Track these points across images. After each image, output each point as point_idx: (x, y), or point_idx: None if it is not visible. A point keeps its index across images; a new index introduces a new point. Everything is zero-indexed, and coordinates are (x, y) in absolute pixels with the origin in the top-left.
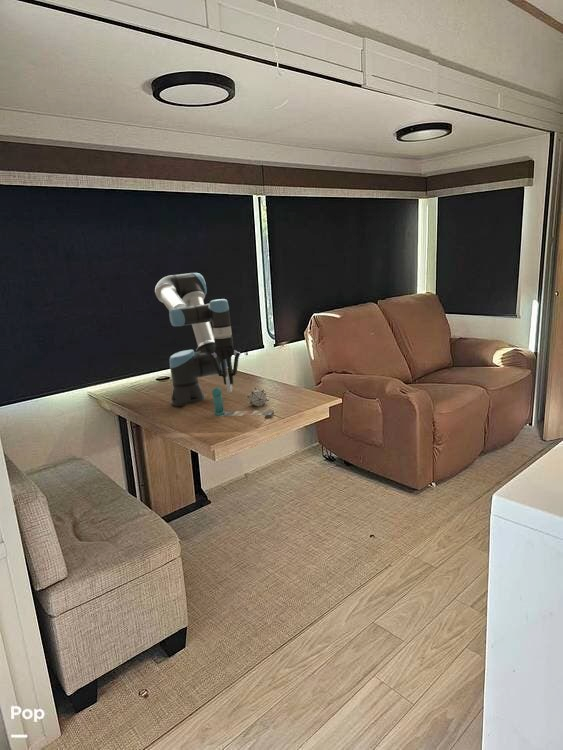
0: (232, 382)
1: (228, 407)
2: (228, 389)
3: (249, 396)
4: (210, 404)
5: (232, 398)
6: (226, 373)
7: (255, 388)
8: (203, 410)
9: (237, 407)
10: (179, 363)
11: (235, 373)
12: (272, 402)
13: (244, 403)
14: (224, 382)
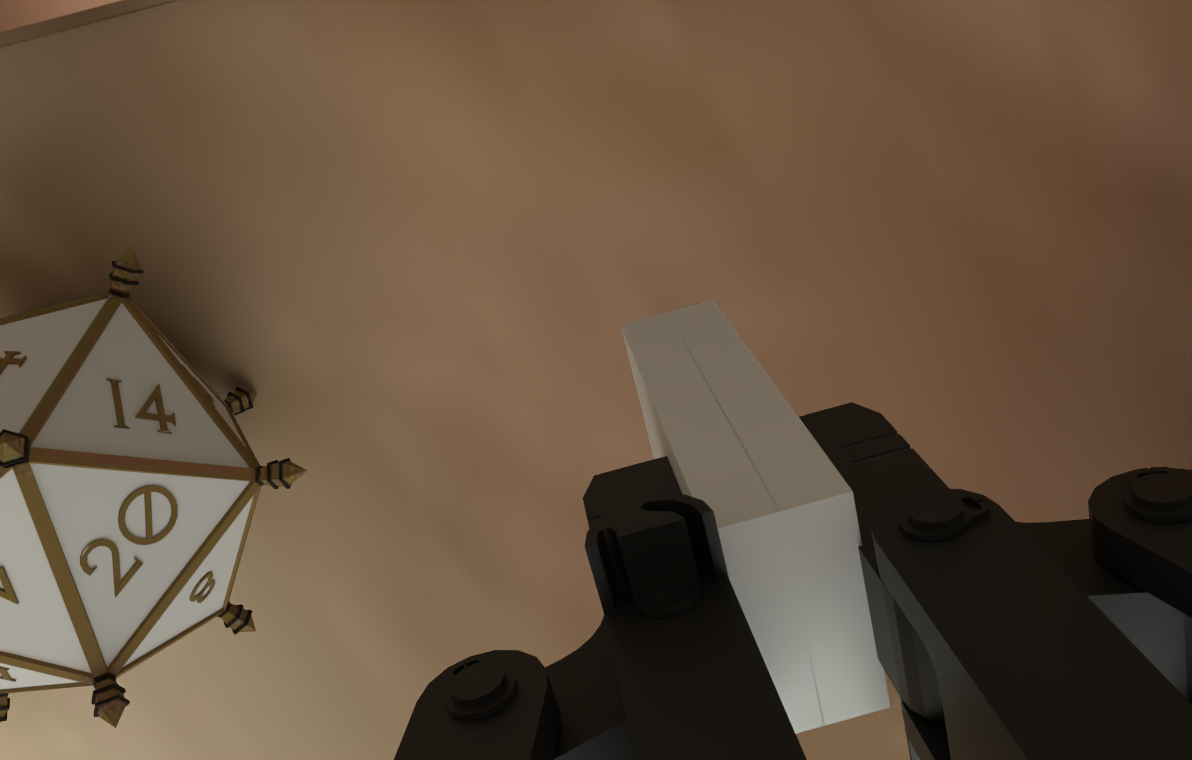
0: (590, 502)
1: (730, 319)
2: (690, 337)
3: (218, 463)
4: (1152, 412)
5: (883, 744)
6: (931, 744)
7: (102, 705)
8: (1159, 74)
9: (551, 348)
10: None
11: (408, 729)
12: (37, 696)
13: (534, 564)
14: (874, 432)
